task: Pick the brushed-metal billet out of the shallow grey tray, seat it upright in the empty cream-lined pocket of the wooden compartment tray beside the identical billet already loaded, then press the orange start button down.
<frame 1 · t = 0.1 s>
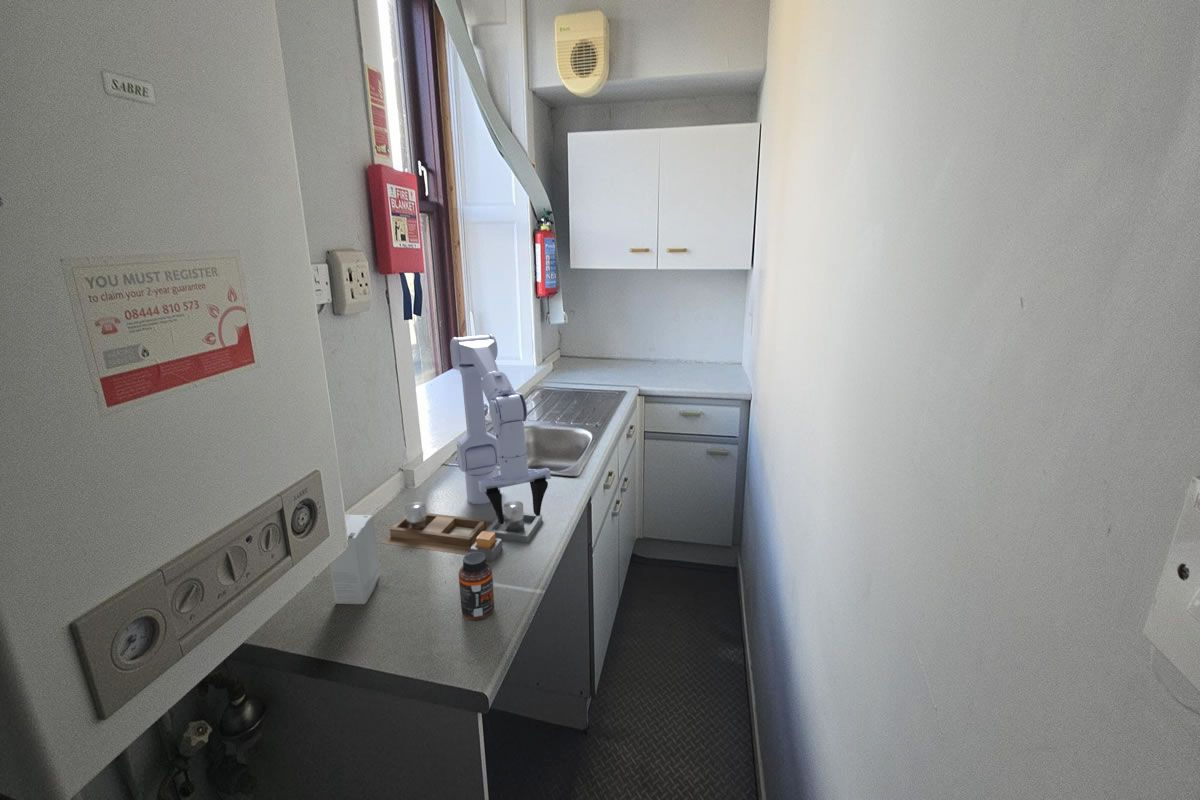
hand: (519, 518, 112), 10 cm above the counter, tool pointing down, fingers open, 7 cm apart
wooden compartment tray: (439, 536, 126), on the counter
shallow grey tray: (514, 530, 128), on the counter
supplement bottle: (478, 612, 101), on the counter
start button: (486, 541, 117), point 4 cm above the counter, slide at 0.0 cm
button housing: (487, 555, 118), on the counter
billet: (514, 528, 128), point 1 cm above the counter, touching shallow grey tray
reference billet: (417, 529, 127), point 1 cm above the counter, touching wooden compartment tray
skincare box: (359, 592, 107), on the counter
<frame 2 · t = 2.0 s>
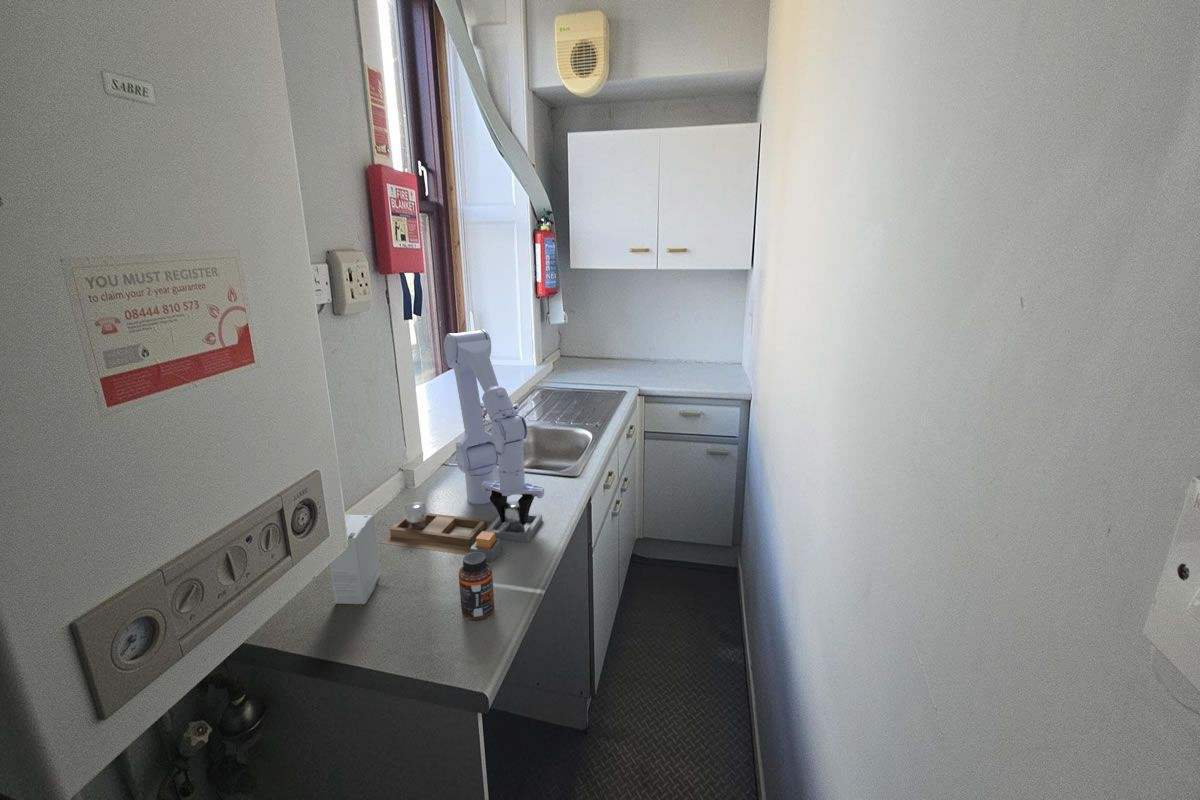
hand: (514, 521, 127), 2 cm above the counter, tool pointing down, fingers closed on billet, 4 cm apart
billet: (514, 528, 128), point 1 cm above the counter, touching gripper, shallow grey tray
everything else where it was.
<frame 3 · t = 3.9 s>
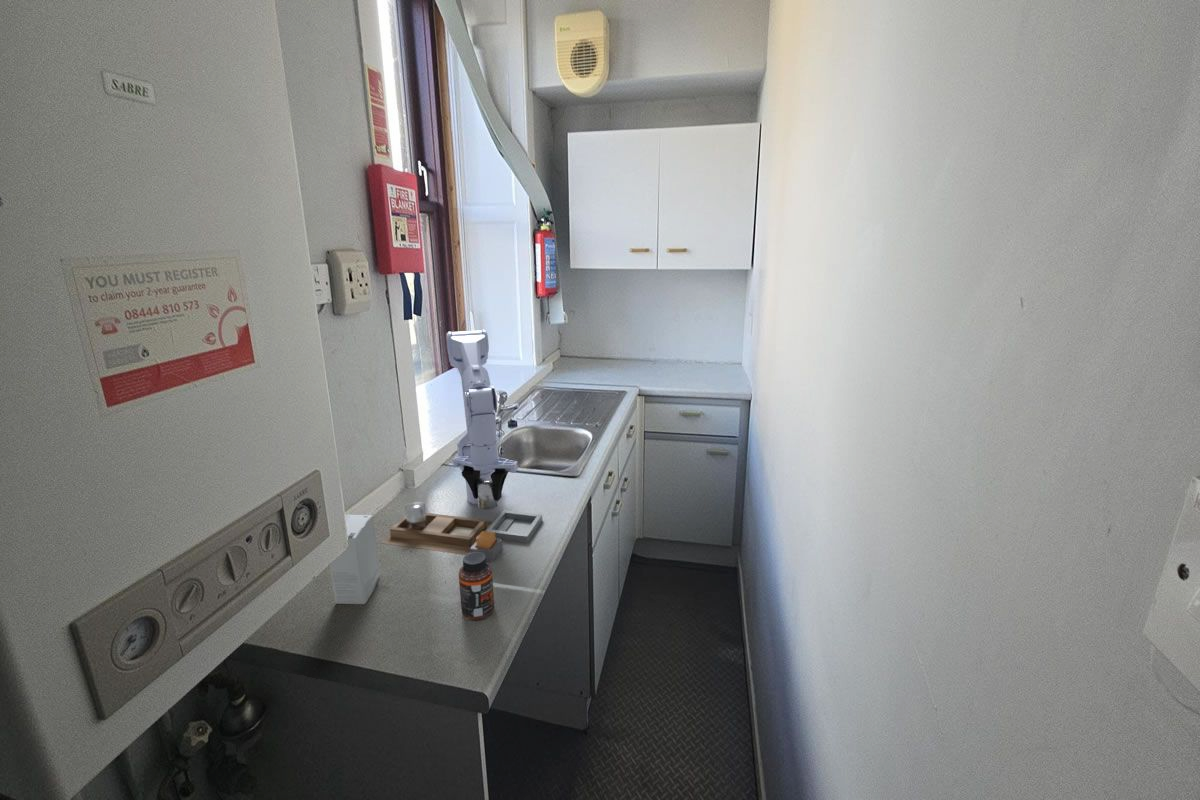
hand: (487, 497, 124), 9 cm above the counter, tool pointing down, fingers closed on billet, 4 cm apart
billet: (488, 505, 124), point 8 cm above the counter, touching gripper
everything else where it was.
when the fingers open (4 cm above the counter, at t = 5.9 s): billet stays where it is, resting on wooden compartment tray.
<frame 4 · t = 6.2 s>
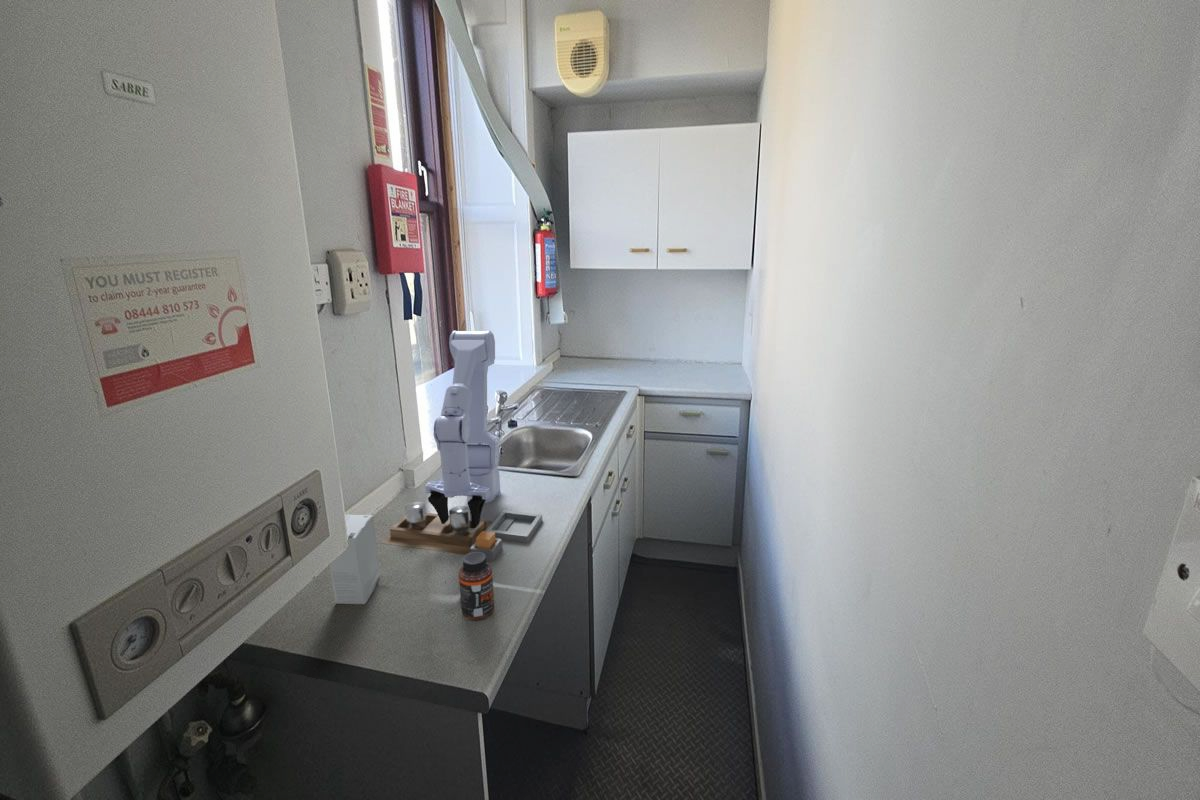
hand: (460, 523, 123), 4 cm above the counter, tool pointing down, fingers open, 7 cm apart
billet: (461, 534, 124), point 1 cm above the counter, touching wooden compartment tray
everything else where it was.
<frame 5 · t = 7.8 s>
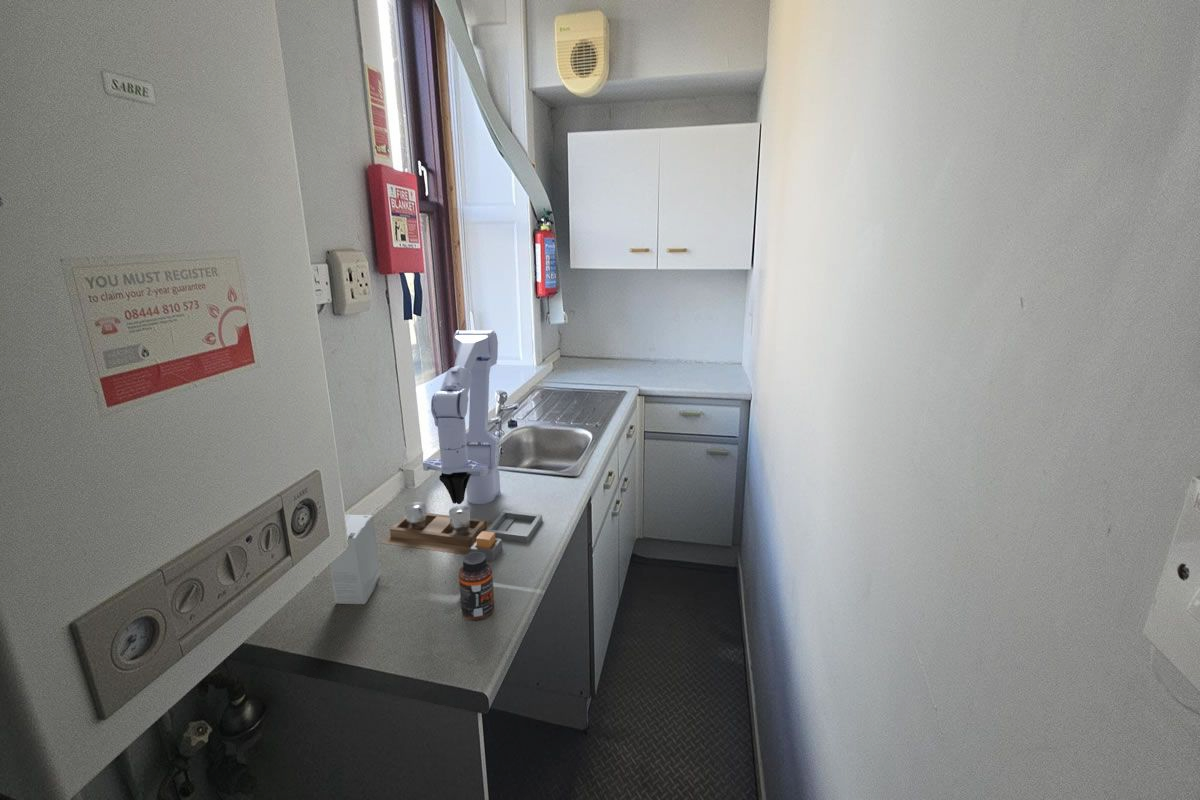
hand: (458, 501, 122), 9 cm above the counter, tool pointing down, fingers closed
nothing on the counter moved.
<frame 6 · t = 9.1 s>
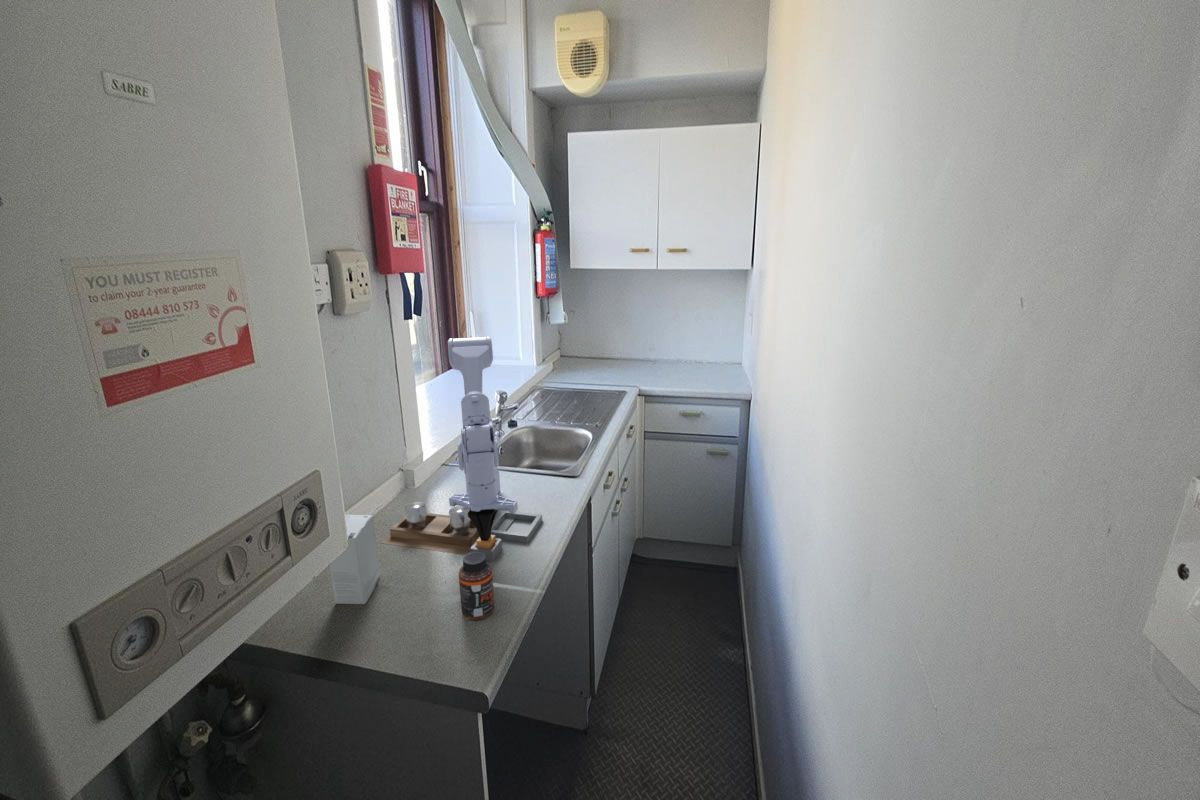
hand: (485, 538, 117), 4 cm above the counter, tool pointing down, fingers closed, pressing on start button
start button: (486, 544, 117), point 3 cm above the counter, slide at 0.7 cm, touching gripper
everything else where it was.
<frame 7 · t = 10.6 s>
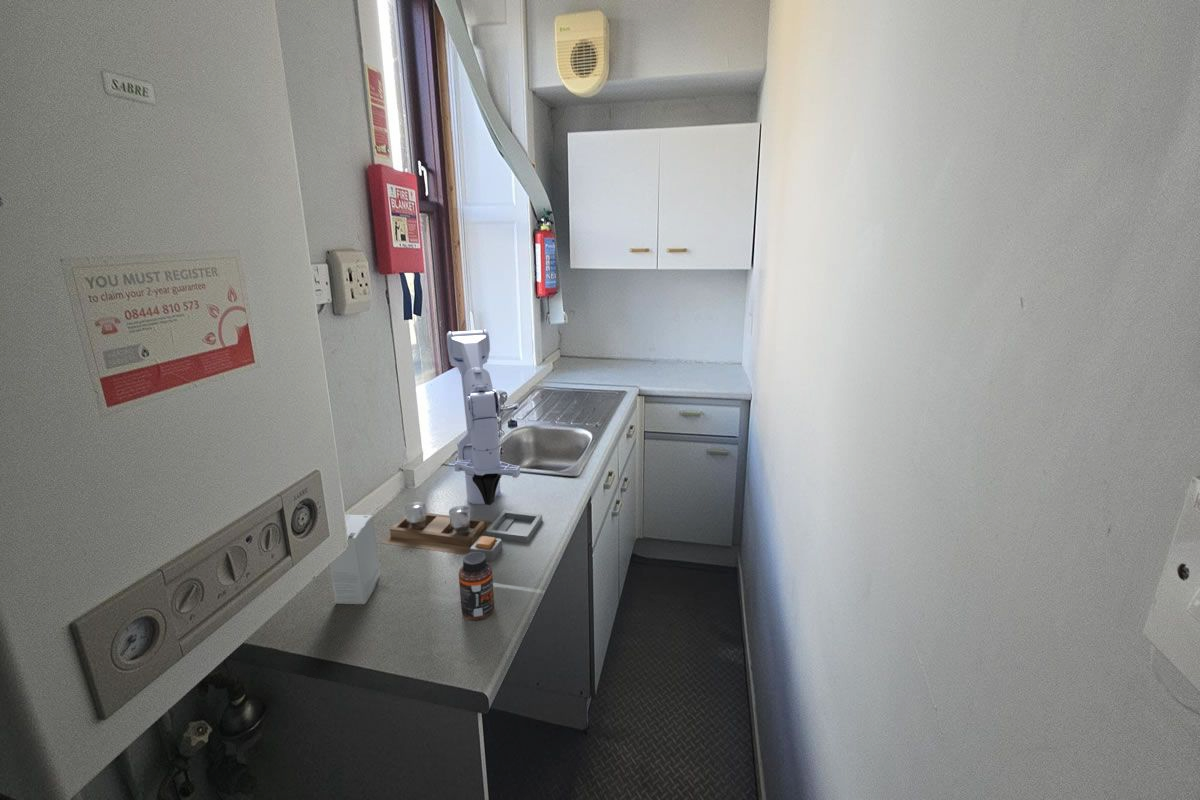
hand: (489, 502, 122), 9 cm above the counter, tool pointing down, fingers closed
start button: (486, 546, 117), point 2 cm above the counter, slide at 1.2 cm
everything else where it was.
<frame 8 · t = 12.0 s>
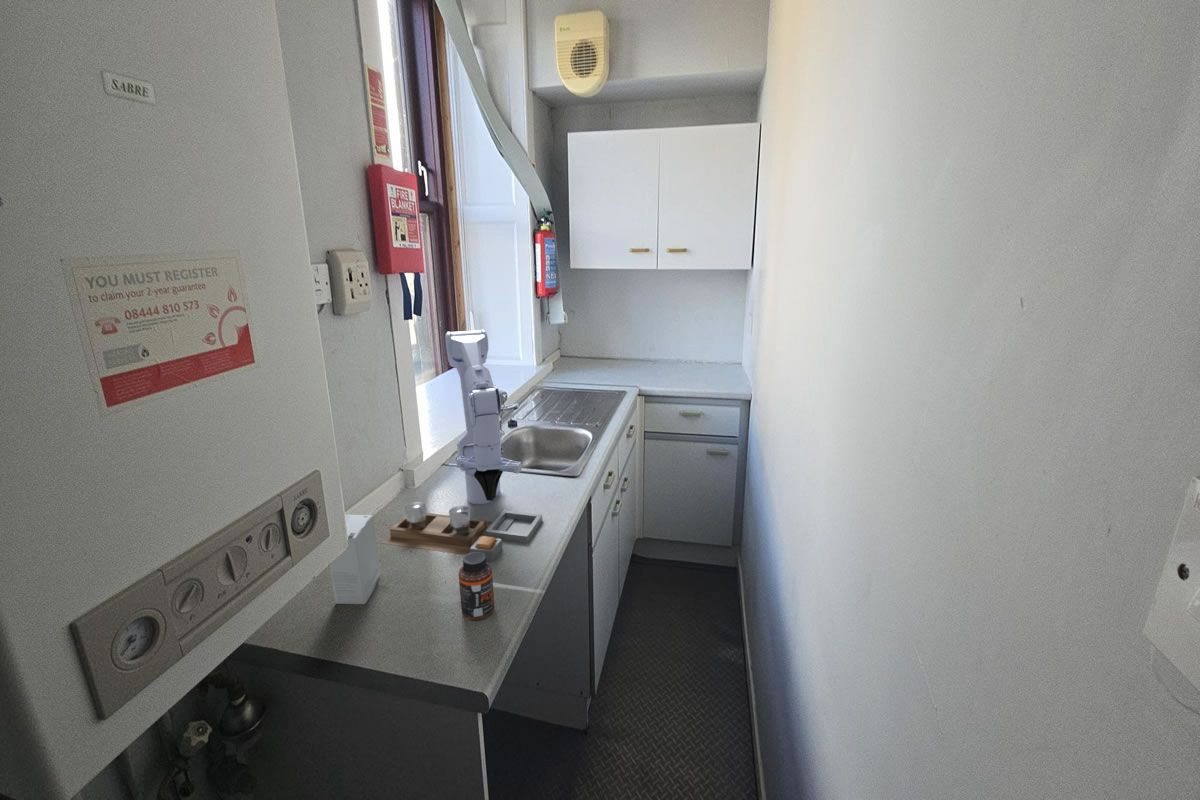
hand: (491, 498, 123), 9 cm above the counter, tool pointing down, fingers closed
nothing on the counter moved.
at the end: billet 0.0 cm from the target spot, point 1.2 cm above the counter; billet tilted 0°; start button slide at 1.2 cm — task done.
